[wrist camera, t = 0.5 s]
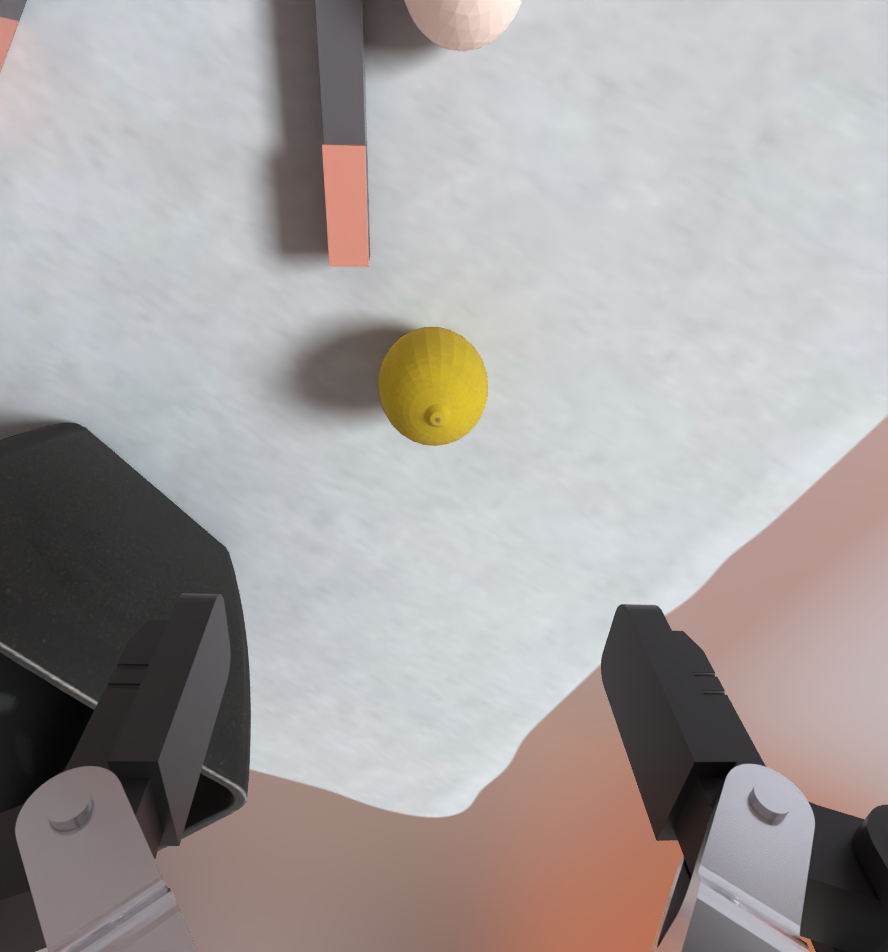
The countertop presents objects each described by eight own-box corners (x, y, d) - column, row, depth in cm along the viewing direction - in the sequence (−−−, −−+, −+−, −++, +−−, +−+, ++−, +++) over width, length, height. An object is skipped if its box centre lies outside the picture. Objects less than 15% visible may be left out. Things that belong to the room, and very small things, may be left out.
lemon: (358, 357, 35) (350, 420, 28) (430, 287, 33) (439, 335, 26) (428, 420, 37) (436, 492, 30) (498, 357, 35) (523, 418, 28)
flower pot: (111, 686, 46) (-16, 949, 32) (-145, 522, 38) (-475, 781, 23) (304, 561, 42) (259, 802, 27) (63, 341, 33) (-190, 525, 19)
